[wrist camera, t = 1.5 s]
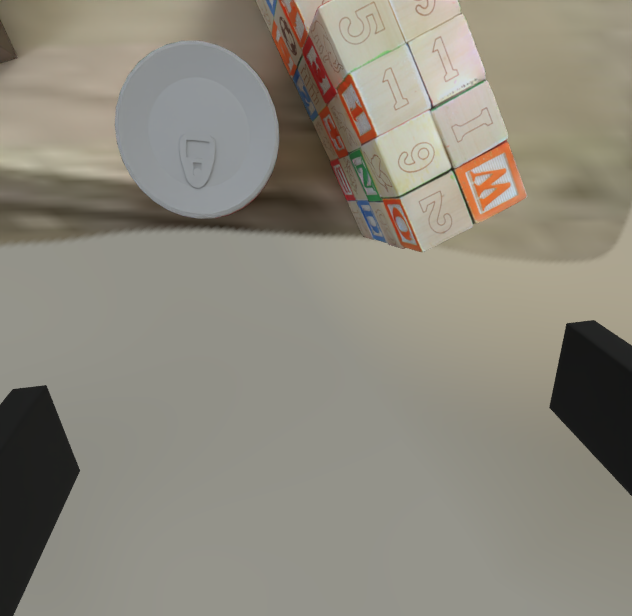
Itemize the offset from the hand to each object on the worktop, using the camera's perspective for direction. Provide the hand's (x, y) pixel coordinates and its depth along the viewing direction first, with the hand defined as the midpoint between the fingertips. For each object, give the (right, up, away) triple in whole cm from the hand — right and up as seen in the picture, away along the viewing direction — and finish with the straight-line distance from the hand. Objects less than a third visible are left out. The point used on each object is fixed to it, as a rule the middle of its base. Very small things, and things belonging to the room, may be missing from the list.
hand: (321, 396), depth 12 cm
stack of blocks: (+1, +18, +20) cm, 27 cm away
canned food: (-7, +13, +20) cm, 25 cm away
